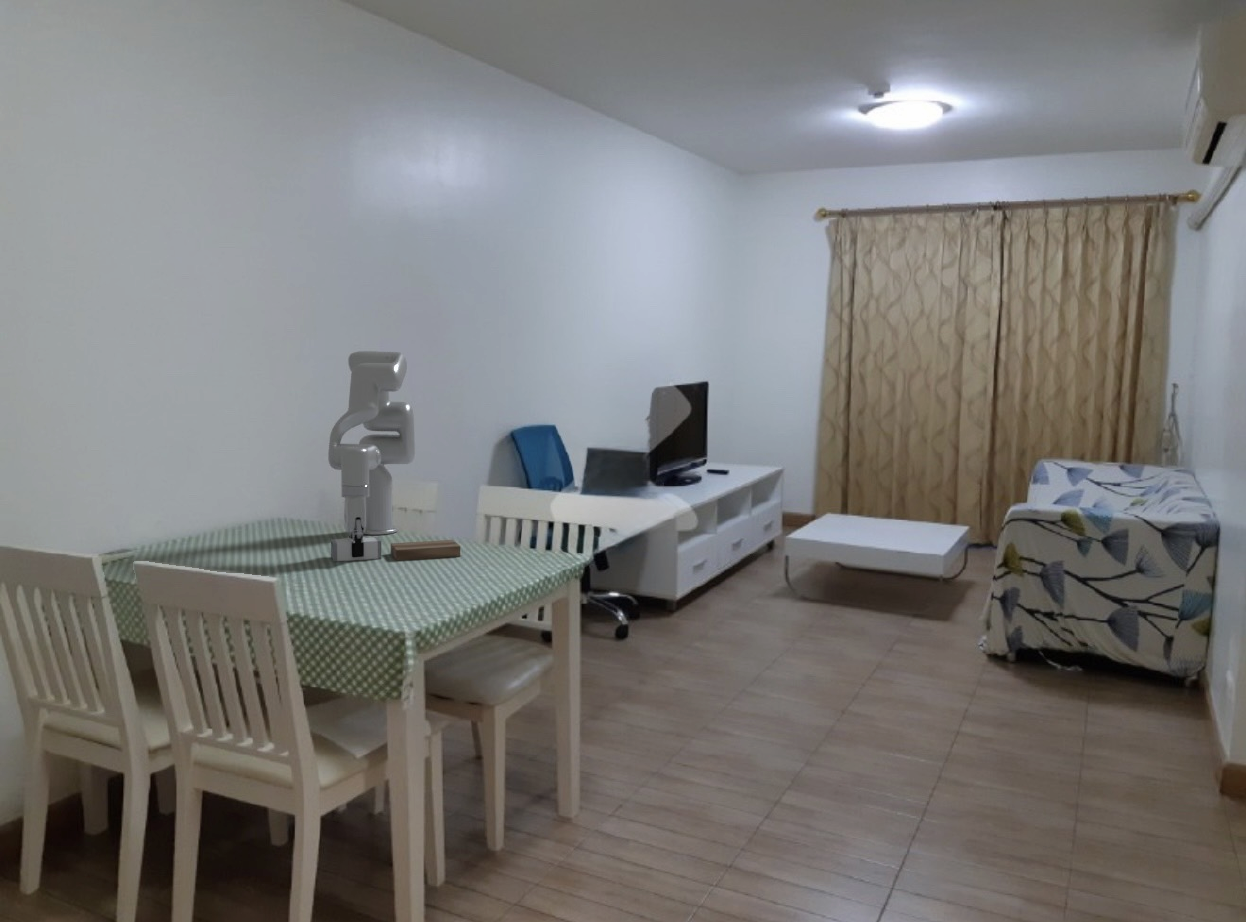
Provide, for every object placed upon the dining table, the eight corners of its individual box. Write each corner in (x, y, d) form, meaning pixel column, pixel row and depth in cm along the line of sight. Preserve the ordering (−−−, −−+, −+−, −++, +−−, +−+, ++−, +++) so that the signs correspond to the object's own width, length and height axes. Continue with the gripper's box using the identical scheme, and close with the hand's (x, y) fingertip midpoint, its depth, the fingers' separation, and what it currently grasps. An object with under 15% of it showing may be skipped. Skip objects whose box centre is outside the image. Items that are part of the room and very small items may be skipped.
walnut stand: (390, 553, 277) (390, 543, 277) (452, 549, 284) (452, 539, 284) (396, 560, 268) (396, 550, 268) (460, 556, 275) (460, 546, 275)
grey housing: (331, 557, 271) (330, 539, 270) (378, 554, 276) (377, 536, 275) (333, 561, 265) (333, 543, 265) (381, 558, 270) (381, 540, 270)
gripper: (337, 487, 275) (338, 549, 277) (345, 495, 259) (346, 561, 261) (364, 486, 278) (365, 548, 280) (373, 494, 262) (374, 559, 264)
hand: (356, 553), depth 270 cm, fingers closed on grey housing, 6 cm apart
